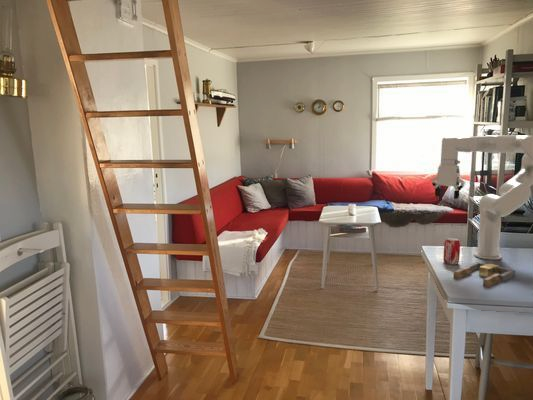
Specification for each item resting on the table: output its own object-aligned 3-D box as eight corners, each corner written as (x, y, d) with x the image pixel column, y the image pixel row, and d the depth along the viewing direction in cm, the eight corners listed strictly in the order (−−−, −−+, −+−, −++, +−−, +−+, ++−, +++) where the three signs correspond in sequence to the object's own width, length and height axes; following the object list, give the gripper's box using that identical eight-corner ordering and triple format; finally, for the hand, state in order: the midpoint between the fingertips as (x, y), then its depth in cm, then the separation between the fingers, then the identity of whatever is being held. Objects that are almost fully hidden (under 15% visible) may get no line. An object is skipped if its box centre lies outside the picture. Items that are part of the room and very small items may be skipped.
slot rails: (467, 272, 198) (467, 266, 198) (499, 280, 187) (500, 274, 187) (453, 278, 191) (453, 271, 190) (486, 287, 180) (487, 280, 179)
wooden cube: (489, 272, 200) (490, 263, 199) (498, 274, 196) (499, 265, 196) (484, 273, 197) (485, 264, 197) (493, 276, 194) (494, 267, 193)
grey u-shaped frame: (476, 266, 206) (477, 261, 206) (514, 275, 194) (514, 270, 193) (464, 272, 199) (464, 266, 199) (502, 281, 187) (503, 275, 186)
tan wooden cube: (484, 273, 197) (484, 265, 196) (492, 276, 194) (493, 267, 193) (478, 275, 195) (479, 266, 194) (487, 277, 192) (488, 269, 191)
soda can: (460, 265, 208) (462, 241, 206) (444, 264, 210) (446, 240, 208) (457, 261, 215) (458, 237, 213) (441, 260, 217) (443, 236, 215)
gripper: (470, 163, 211) (467, 198, 214) (436, 161, 224) (434, 194, 227) (462, 164, 206) (459, 200, 209) (428, 162, 220) (426, 196, 222)
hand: (446, 197), depth 218 cm, fingers open, 9 cm apart
